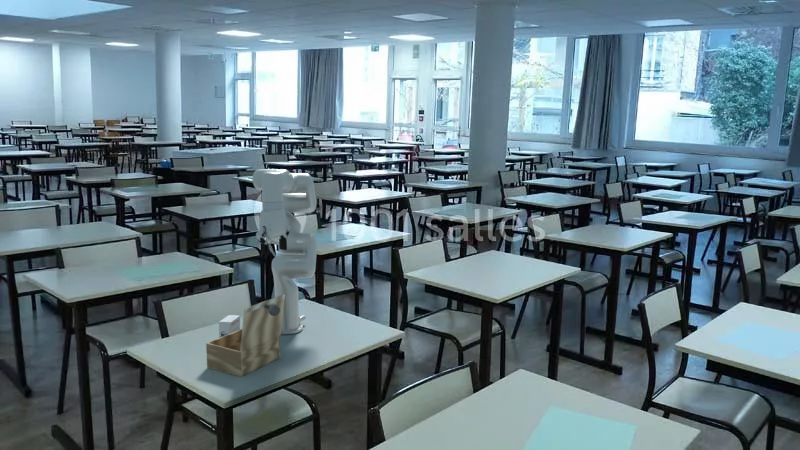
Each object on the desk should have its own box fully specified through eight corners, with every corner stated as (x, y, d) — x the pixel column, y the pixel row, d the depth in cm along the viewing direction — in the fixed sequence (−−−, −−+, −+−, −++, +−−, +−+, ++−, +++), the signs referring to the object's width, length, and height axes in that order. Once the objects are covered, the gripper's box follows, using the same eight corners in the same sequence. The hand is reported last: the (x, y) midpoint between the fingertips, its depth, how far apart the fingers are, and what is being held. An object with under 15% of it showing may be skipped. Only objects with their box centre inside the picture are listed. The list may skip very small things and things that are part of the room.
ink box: (229, 343, 244) (228, 314, 242) (241, 344, 243) (240, 315, 241) (219, 351, 236) (217, 321, 234) (231, 352, 235) (230, 322, 233)
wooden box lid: (283, 293, 224) (298, 299, 221) (279, 334, 228) (293, 340, 225) (244, 307, 207) (259, 314, 204) (240, 351, 212) (254, 358, 208)
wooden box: (247, 349, 238) (247, 326, 236) (280, 358, 230) (279, 334, 228) (207, 367, 221) (206, 343, 219) (240, 377, 213) (239, 352, 211)
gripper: (280, 202, 236) (282, 246, 240) (248, 208, 222) (250, 255, 225) (296, 203, 233) (297, 248, 236) (264, 210, 218) (265, 258, 221)
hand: (274, 252), depth 230 cm, fingers open, 9 cm apart
